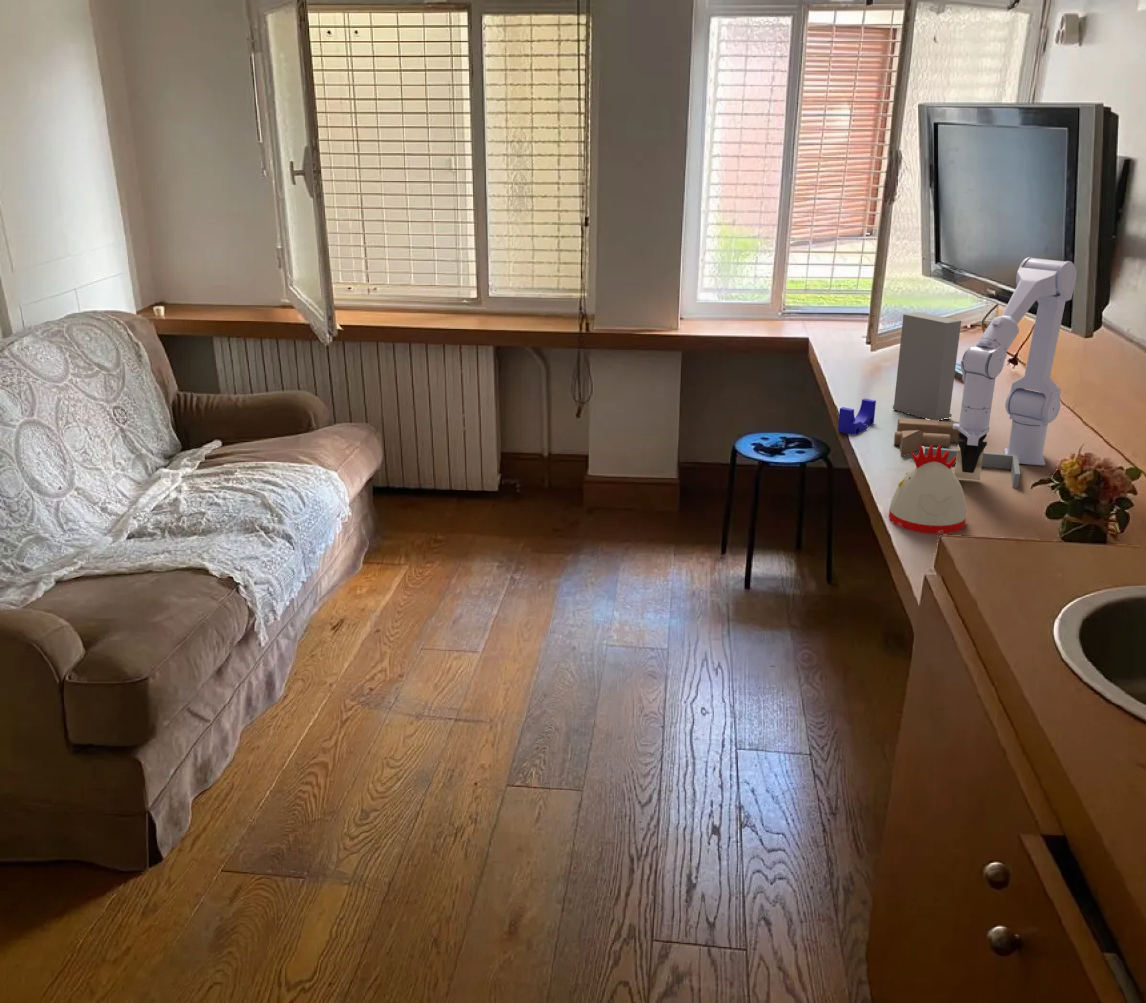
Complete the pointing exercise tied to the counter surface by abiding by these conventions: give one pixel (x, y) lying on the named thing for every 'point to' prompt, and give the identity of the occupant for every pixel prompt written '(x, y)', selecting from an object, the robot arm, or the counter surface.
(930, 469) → the kitchen timer
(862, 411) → the cable clip
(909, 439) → the wooden block set
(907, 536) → the counter surface
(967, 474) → the birch block
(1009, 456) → the grey open bracket
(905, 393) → the tall grey upright block
